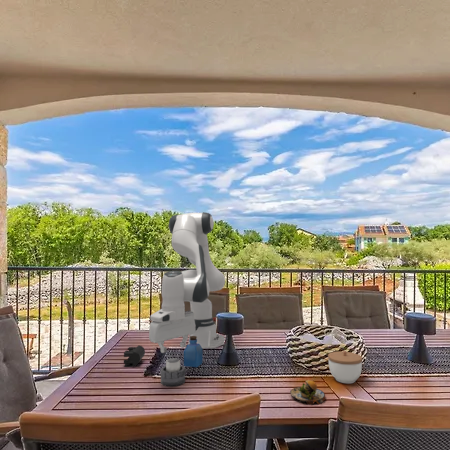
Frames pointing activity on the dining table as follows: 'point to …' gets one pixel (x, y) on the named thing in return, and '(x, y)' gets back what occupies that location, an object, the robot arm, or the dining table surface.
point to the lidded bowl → (345, 366)
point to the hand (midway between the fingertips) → (173, 349)
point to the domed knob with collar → (172, 377)
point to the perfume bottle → (193, 353)
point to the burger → (308, 393)
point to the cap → (172, 365)
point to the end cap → (134, 356)
